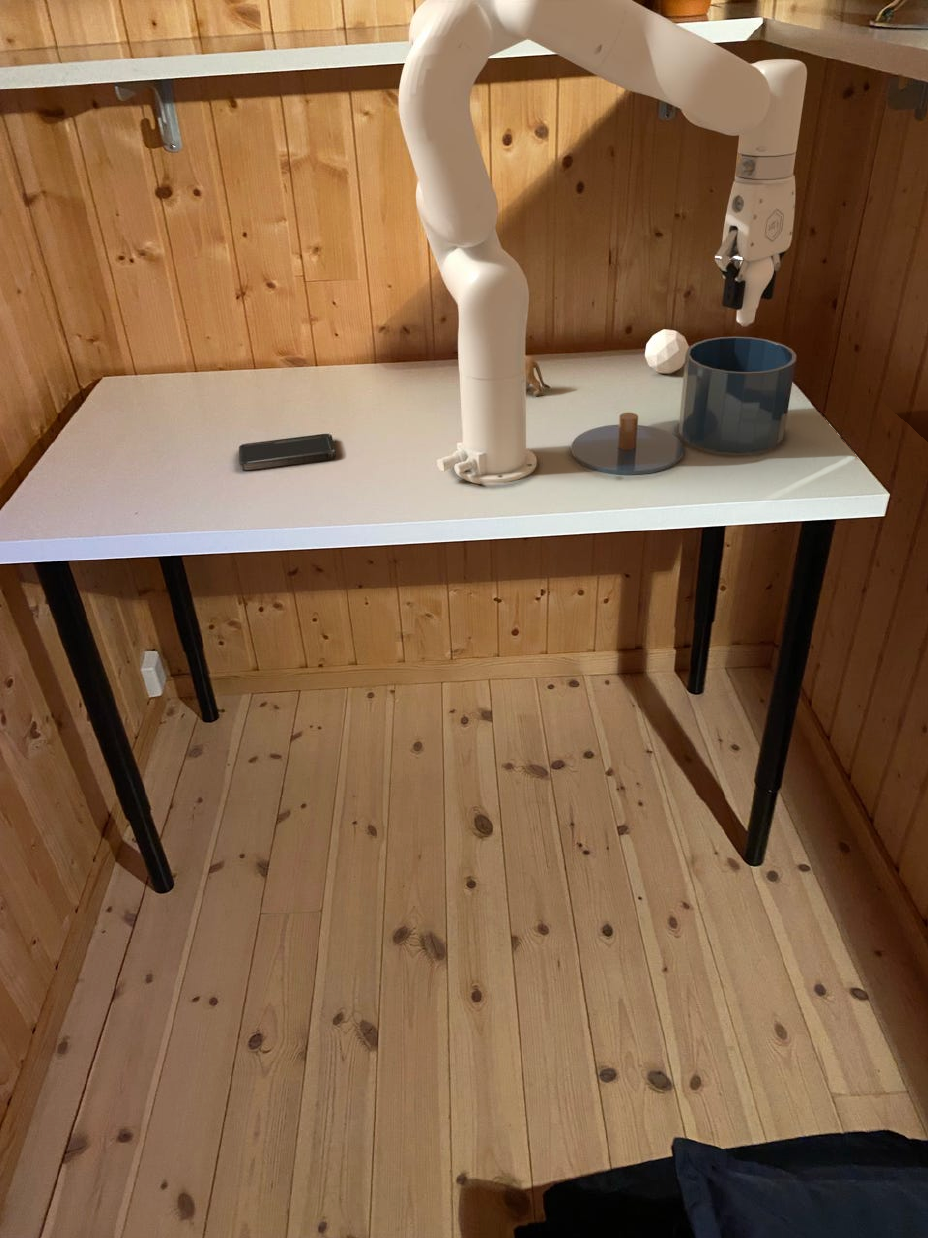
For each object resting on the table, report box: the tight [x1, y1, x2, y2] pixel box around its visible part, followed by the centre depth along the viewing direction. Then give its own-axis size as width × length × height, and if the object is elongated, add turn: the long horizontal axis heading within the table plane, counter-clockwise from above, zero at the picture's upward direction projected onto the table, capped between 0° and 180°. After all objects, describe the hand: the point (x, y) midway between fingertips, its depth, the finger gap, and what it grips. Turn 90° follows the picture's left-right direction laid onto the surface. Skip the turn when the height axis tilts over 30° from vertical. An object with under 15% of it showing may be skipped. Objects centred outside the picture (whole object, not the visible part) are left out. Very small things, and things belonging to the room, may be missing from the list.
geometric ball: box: [644, 328, 690, 375], centre depth 167 cm, size 8×8×8 cm
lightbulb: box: [734, 254, 774, 327], centre depth 133 cm, size 6×6×11 cm
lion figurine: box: [525, 354, 551, 397], centre depth 162 cm, size 15×5×9 cm, turn 92°
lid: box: [571, 412, 684, 476], centre depth 140 cm, size 17×17×6 cm
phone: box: [238, 433, 336, 471], centre depth 147 cm, size 8×1×15 cm
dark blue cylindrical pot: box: [678, 336, 797, 454], centre depth 142 cm, size 16×16×13 cm
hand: (747, 301), depth 134 cm, fingers closed on lightbulb, 6 cm apart
